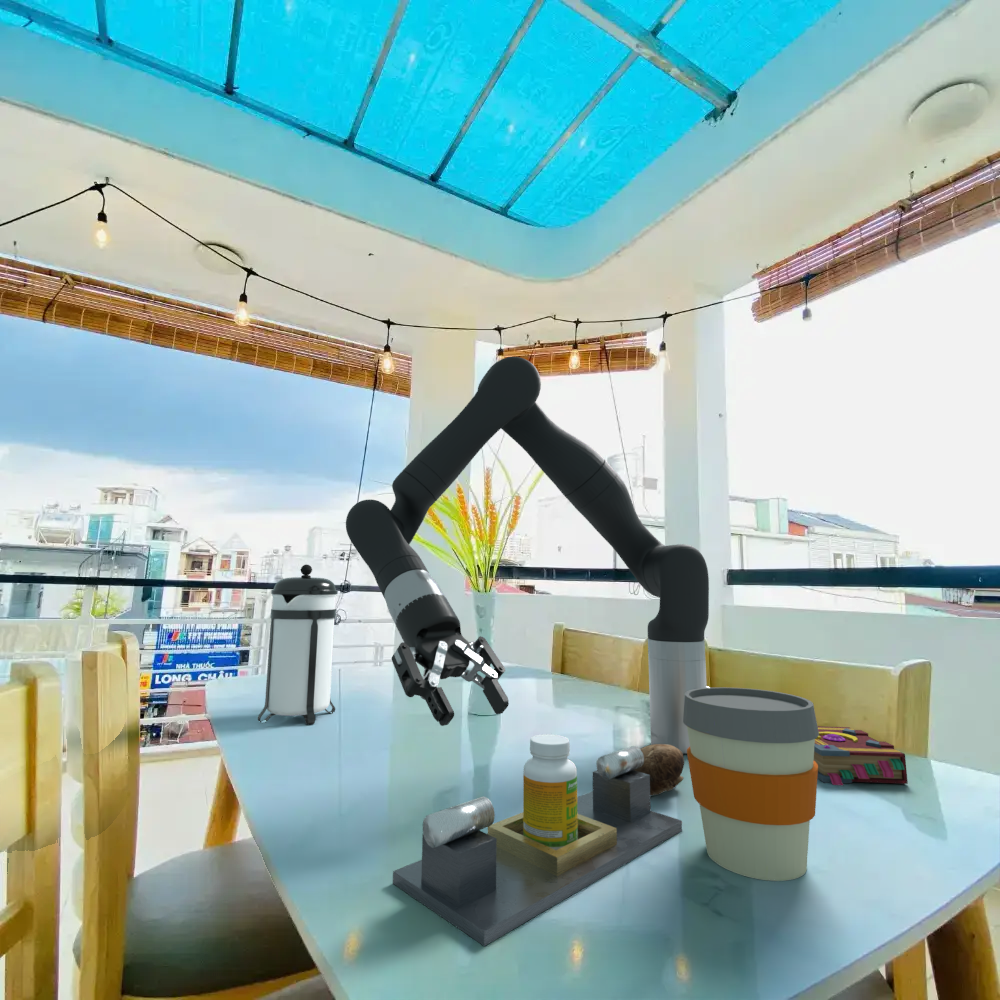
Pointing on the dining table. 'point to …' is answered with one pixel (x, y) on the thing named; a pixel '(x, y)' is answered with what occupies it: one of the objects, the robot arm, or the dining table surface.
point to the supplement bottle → (550, 792)
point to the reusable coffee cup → (753, 777)
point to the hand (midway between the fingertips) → (477, 715)
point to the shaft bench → (531, 852)
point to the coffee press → (300, 647)
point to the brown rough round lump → (662, 767)
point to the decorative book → (856, 758)
